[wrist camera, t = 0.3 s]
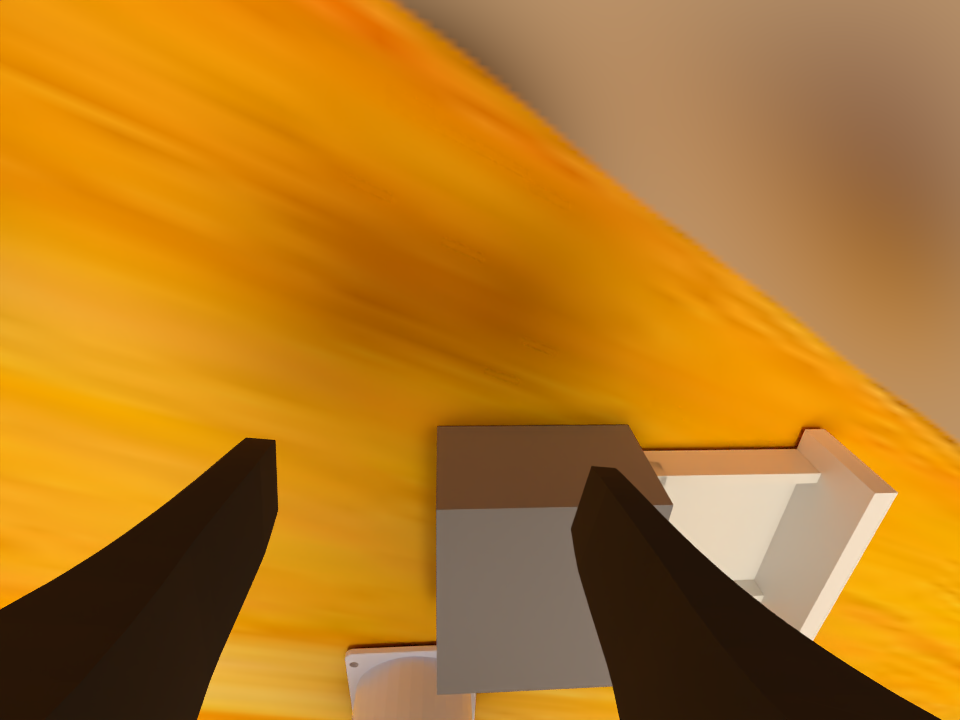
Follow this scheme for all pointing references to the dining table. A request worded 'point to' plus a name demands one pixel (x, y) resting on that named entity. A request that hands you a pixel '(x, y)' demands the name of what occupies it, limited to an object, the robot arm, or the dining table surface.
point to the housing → (521, 553)
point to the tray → (778, 518)
